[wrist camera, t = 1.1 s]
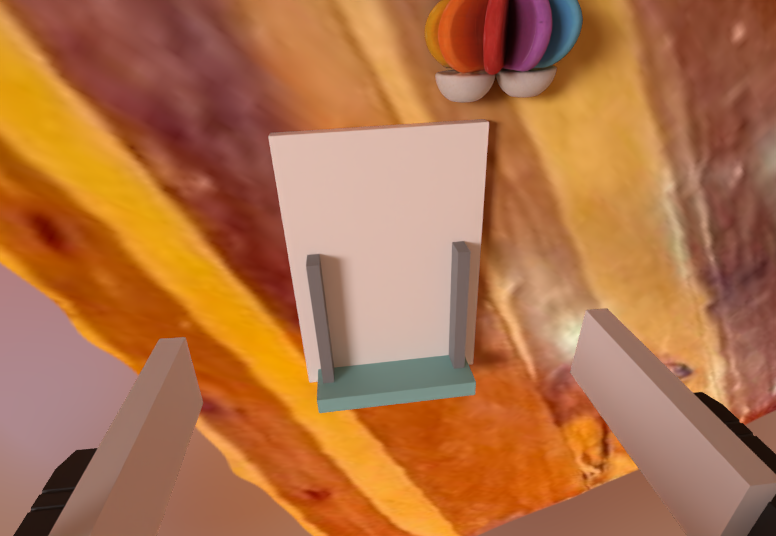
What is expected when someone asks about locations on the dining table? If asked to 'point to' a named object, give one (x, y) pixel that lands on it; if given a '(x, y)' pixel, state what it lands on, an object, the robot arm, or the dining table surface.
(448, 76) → the multicolored rounded lobe cluster
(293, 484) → the dining table surface
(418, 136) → the board
